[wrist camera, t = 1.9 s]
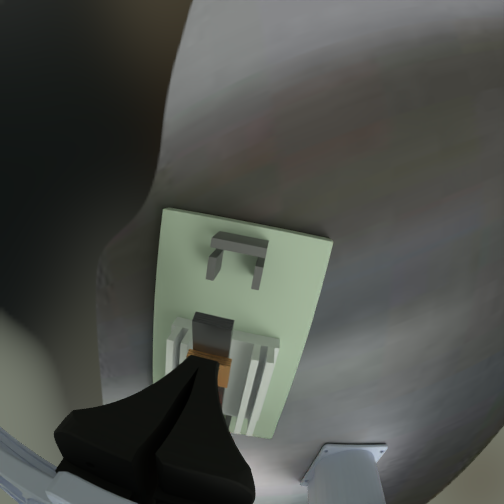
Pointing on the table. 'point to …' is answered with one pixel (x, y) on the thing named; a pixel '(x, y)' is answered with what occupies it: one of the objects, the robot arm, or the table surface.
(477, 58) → the table surface
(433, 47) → the table surface
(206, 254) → the heatsink board
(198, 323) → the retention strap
